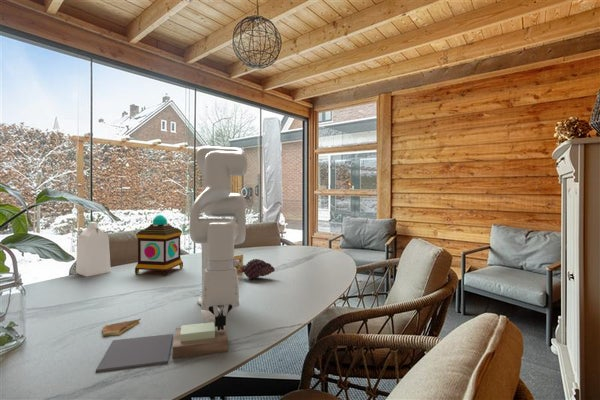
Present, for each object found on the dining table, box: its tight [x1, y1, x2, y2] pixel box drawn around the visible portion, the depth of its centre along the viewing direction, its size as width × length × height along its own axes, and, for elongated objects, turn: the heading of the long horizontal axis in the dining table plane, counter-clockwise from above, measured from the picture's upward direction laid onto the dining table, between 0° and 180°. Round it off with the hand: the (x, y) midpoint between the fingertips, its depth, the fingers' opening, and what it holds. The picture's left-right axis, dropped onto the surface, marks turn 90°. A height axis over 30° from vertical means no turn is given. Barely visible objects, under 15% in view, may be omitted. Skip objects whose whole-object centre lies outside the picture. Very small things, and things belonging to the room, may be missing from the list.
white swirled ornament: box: [200, 307, 221, 323], centre depth 109 cm, size 6×6×7 cm
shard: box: [102, 318, 141, 337], centre depth 102 cm, size 11×8×2 cm
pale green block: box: [180, 322, 215, 342], centre depth 92 cm, size 9×6×2 cm, turn 107°
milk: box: [75, 221, 112, 277], centre depth 170 cm, size 12×12×26 cm
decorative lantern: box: [134, 214, 184, 277], centre depth 174 cm, size 20×20×30 cm
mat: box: [95, 333, 174, 373], centre depth 88 cm, size 16×16×1 cm
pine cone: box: [239, 258, 275, 280], centre depth 162 cm, size 18×10×10 cm, turn 88°
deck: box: [172, 323, 229, 359], centre depth 93 cm, size 12×14×3 cm
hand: (220, 328), depth 94 cm, fingers closed
